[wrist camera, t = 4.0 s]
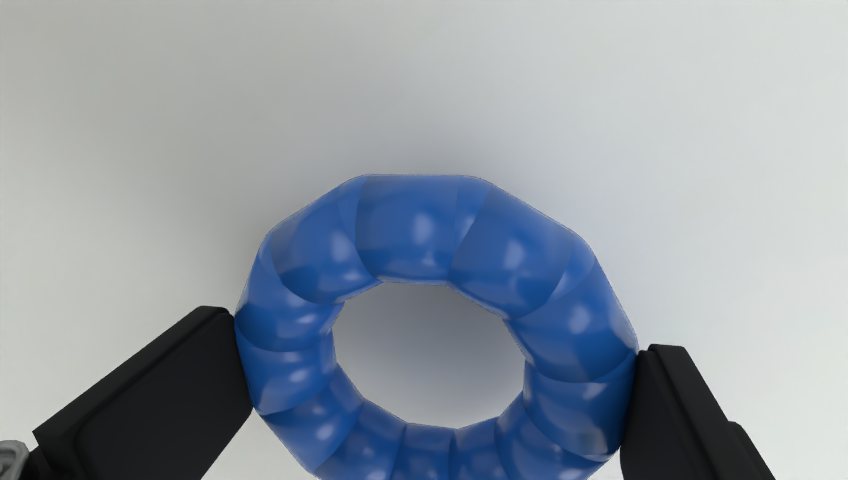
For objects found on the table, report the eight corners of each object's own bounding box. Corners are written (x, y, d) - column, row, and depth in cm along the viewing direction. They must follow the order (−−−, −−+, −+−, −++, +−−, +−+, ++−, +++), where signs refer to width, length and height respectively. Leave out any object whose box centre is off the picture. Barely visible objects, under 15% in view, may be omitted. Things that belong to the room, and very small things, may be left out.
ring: (231, 365, 13) (178, 422, 11) (345, 85, 9) (297, 91, 7) (490, 513, 13) (485, 594, 11) (712, 299, 9) (767, 365, 7)
